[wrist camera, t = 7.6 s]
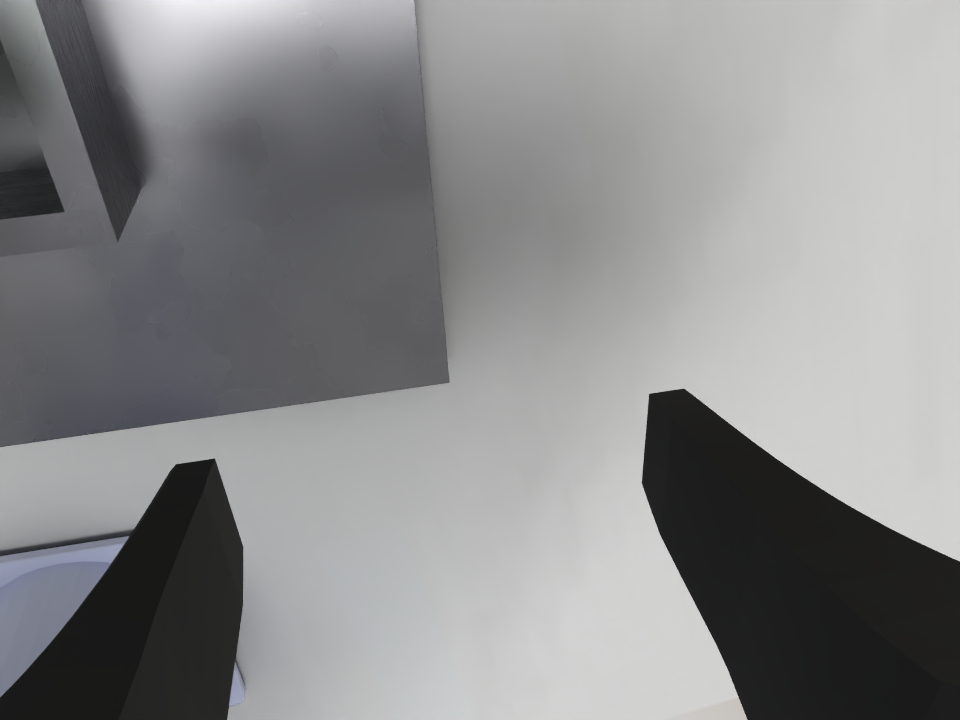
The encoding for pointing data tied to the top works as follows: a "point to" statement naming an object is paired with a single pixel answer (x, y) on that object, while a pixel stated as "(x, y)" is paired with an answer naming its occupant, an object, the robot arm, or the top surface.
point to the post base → (210, 210)
